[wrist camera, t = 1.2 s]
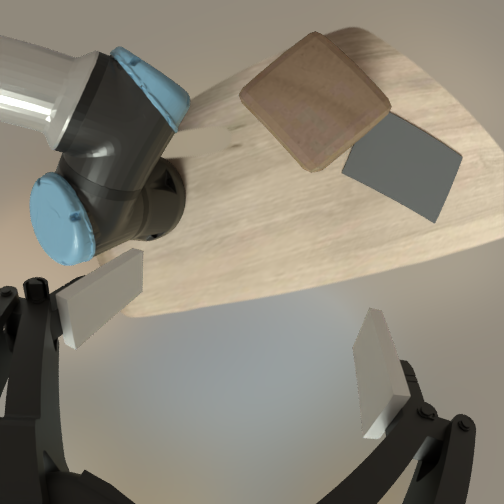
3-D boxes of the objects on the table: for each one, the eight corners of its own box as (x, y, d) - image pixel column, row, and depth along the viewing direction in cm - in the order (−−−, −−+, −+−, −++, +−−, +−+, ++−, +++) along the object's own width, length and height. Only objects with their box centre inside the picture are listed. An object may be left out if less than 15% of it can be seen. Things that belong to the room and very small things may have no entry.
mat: (341, 173, 41) (341, 173, 41) (370, 103, 37) (371, 103, 36) (434, 223, 39) (434, 223, 39) (461, 157, 35) (462, 157, 35)
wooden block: (321, 83, 37) (315, 24, 19) (367, 133, 38) (398, 105, 19) (273, 124, 41) (231, 93, 22) (317, 174, 42) (310, 177, 23)
